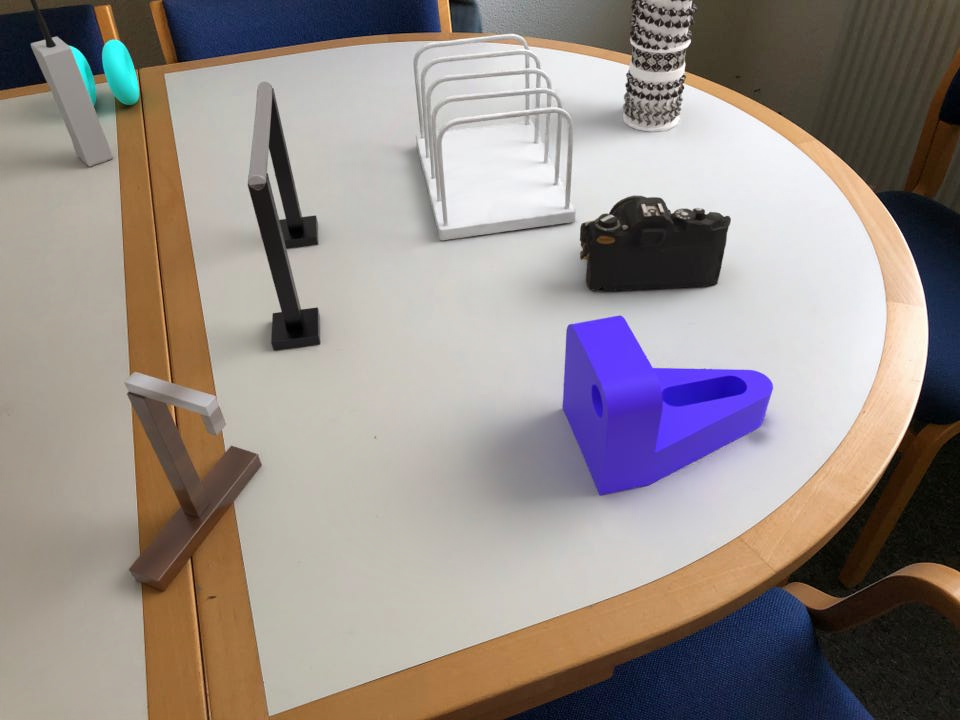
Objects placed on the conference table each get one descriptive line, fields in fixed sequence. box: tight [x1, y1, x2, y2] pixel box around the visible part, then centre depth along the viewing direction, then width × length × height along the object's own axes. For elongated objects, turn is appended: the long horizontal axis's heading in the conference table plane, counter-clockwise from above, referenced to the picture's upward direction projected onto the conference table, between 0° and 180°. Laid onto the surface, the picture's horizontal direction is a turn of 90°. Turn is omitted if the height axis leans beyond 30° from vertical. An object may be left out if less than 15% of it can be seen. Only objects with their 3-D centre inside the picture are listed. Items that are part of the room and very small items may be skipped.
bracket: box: [562, 315, 774, 496], centre depth 70 cm, size 18×11×12 cm, turn 103°
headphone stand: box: [123, 371, 263, 592], centre depth 62 cm, size 8×14×17 cm, turn 158°
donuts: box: [68, 39, 140, 107], centre depth 127 cm, size 10×10×10 cm
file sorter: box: [412, 33, 577, 241], centre depth 103 cm, size 25×17×16 cm
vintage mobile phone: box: [29, 0, 114, 168], centre depth 109 cm, size 4×5×25 cm
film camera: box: [579, 194, 732, 292], centre depth 89 cm, size 18×12×10 cm
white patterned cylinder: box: [622, 0, 698, 133], centre depth 112 cm, size 9×9×25 cm
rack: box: [247, 81, 321, 351], centre depth 87 cm, size 5×24×20 cm, turn 9°
